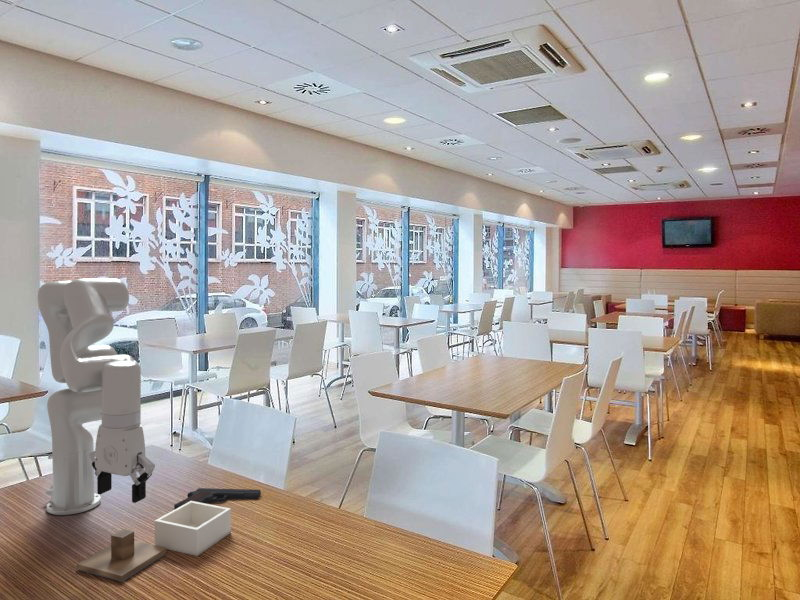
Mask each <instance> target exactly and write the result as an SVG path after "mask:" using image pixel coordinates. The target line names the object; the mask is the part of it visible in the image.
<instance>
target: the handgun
mask: <svg viewBox="0 0 800 600" xmlns="http://www.w3.org/2000/svg"><path fill="white" fill-rule="evenodd" d="M261 494H262V491H261V489H250V488H249V489H248V488H247V489H246V488H243V489H242V488H240V489H239V488H213V487H212V488H210V487H207V488H206V487H205V488H204V487H201V488H200V487H198V488H197V489H196V490H194V491H193V490H192V491H190V492H188V493H187V498H185V499H183V500H181V501H179V502H177V503H175V504H174V505H173V507H174V508H173V510H175V509H177V508H179V507H180V506H182V505H184V504H186V503H188V502H190V501H195V502H200V503H205V504H210V503H223V502H225V501H227V500H245V499H247V500H258V499H259V498H260V497H261Z"/></svg>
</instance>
